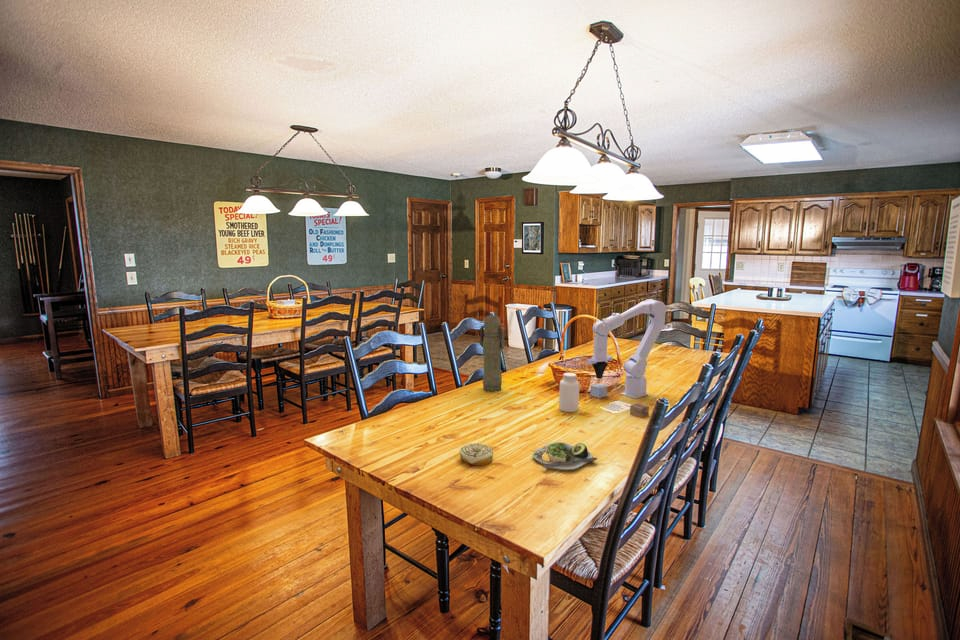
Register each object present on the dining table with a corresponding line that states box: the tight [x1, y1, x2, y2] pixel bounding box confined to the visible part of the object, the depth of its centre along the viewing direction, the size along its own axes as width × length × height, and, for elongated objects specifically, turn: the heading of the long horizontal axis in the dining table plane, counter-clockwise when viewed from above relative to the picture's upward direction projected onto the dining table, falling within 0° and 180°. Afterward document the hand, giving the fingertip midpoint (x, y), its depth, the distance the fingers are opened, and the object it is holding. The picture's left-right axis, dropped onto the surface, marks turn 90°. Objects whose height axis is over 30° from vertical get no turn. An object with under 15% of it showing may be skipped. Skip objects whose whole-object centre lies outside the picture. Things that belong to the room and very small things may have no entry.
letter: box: [596, 400, 631, 415], centre depth 196 cm, size 14×10×1 cm
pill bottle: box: [558, 372, 580, 413], centre depth 193 cm, size 8×8×15 cm
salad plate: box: [532, 441, 598, 471], centre depth 148 cm, size 19×18×5 cm
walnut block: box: [629, 402, 650, 419], centre depth 187 cm, size 5×5×4 cm
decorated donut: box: [459, 443, 494, 466], centre depth 149 cm, size 10×11×4 cm
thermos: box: [479, 314, 505, 393], centre depth 219 cm, size 9×12×35 cm
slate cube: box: [589, 383, 608, 399], centre depth 210 cm, size 5×5×5 cm
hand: (599, 378), depth 209 cm, fingers closed
